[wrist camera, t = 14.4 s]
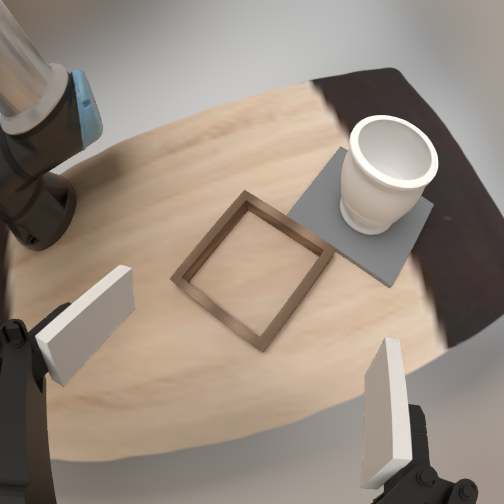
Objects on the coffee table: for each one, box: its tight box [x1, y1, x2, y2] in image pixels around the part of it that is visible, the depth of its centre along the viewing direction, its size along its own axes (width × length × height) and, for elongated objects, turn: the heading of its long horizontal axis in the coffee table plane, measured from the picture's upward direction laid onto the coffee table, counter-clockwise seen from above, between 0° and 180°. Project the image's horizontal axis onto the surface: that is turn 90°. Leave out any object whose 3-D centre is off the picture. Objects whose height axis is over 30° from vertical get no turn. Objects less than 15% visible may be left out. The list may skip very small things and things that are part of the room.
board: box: [286, 147, 434, 288], centre depth 45 cm, size 18×16×1 cm
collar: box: [170, 190, 336, 352], centre depth 43 cm, size 15×16×3 cm
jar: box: [340, 115, 438, 235], centre depth 38 cm, size 11×10×15 cm
